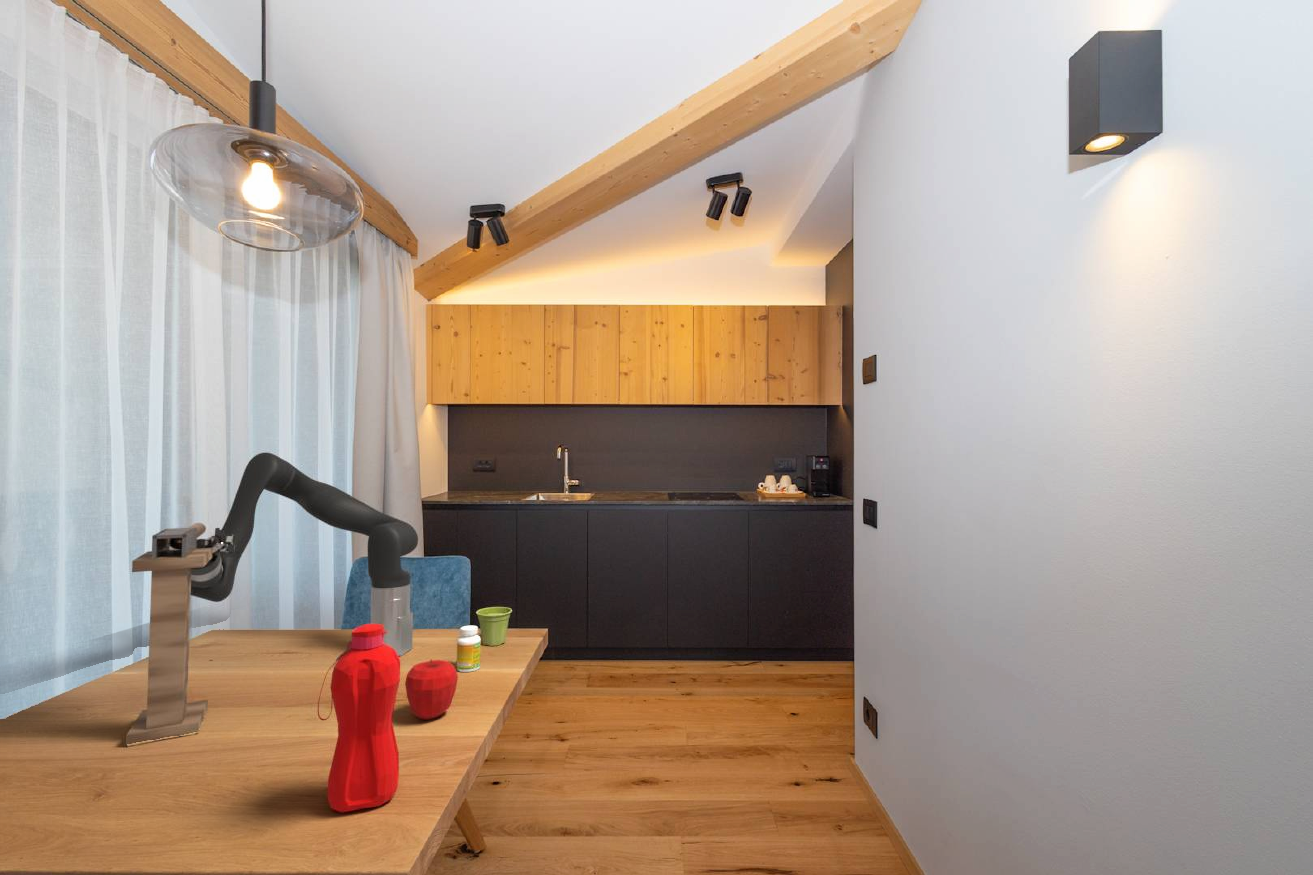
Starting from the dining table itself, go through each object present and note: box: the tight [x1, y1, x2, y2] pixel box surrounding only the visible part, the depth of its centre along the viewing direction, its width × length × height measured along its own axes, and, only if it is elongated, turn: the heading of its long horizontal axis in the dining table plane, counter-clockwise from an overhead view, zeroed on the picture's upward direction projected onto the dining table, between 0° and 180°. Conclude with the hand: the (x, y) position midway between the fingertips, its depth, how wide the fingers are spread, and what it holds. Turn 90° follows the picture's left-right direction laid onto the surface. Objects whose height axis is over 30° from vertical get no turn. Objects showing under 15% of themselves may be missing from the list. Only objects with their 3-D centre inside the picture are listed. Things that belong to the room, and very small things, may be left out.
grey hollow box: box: [151, 527, 198, 559], centre depth 112 cm, size 12×5×4 cm, turn 30°
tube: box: [170, 522, 207, 549], centre depth 125 cm, size 24×3×3 cm, turn 31°
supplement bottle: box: [456, 625, 482, 673], centre depth 142 cm, size 5×5×10 cm
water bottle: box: [317, 623, 401, 814], centre depth 88 cm, size 9×11×25 cm
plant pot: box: [475, 606, 513, 647], centre depth 162 cm, size 9×9×9 cm
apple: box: [404, 659, 459, 720], centre depth 116 cm, size 10×10×11 cm
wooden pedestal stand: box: [125, 548, 212, 746], centre depth 111 cm, size 12×10×32 cm
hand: (192, 532), depth 129 cm, fingers open, 8 cm apart
